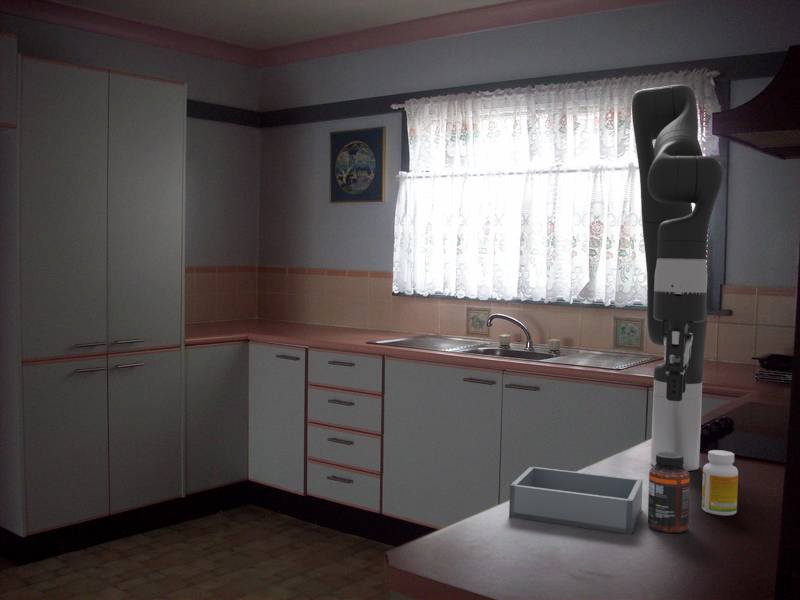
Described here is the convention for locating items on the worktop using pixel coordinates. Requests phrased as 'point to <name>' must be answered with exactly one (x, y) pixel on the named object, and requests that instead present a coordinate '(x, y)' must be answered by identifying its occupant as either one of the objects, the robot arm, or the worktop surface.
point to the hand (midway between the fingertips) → (676, 396)
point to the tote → (577, 499)
